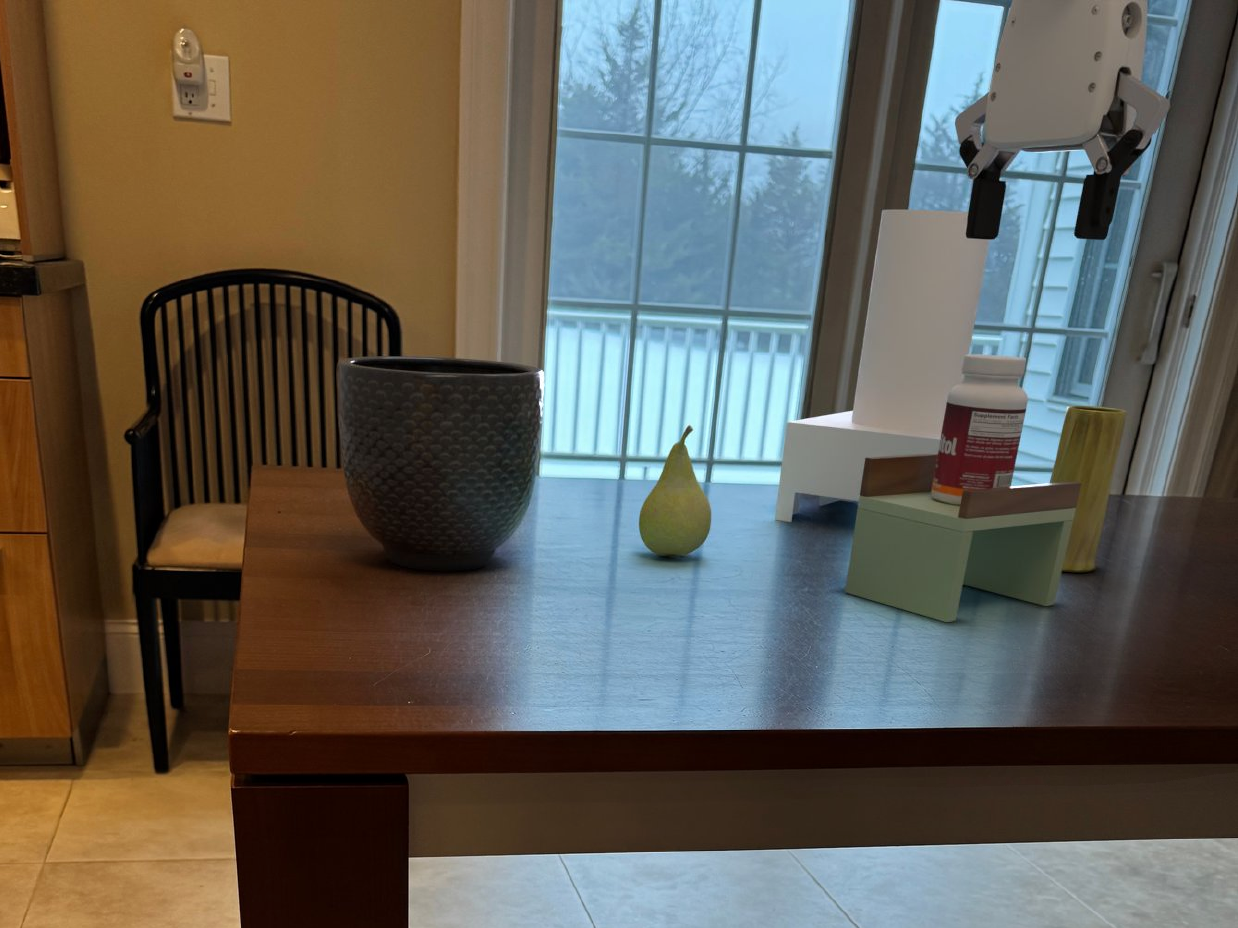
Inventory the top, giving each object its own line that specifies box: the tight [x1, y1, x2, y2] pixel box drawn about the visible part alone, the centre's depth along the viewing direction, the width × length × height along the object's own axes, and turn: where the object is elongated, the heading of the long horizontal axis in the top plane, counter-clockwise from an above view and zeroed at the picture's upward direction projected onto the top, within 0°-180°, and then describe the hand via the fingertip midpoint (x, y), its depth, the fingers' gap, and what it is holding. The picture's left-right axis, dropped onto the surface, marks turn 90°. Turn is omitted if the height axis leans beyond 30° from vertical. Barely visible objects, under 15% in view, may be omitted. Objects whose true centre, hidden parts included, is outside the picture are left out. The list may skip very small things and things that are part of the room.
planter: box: [336, 355, 545, 572], centre depth 110 cm, size 17×17×16 cm
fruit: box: [638, 424, 712, 559], centre depth 117 cm, size 7×8×12 cm
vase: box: [1049, 405, 1128, 574], centre depth 122 cm, size 6×6×14 cm
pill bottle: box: [931, 353, 1029, 505], centre depth 104 cm, size 6×6×11 cm
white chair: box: [774, 209, 991, 523], centre depth 136 cm, size 19×19×30 cm
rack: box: [844, 453, 1082, 623], centre depth 108 cm, size 11×14×11 cm
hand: (1033, 238), depth 98 cm, fingers open, 9 cm apart
